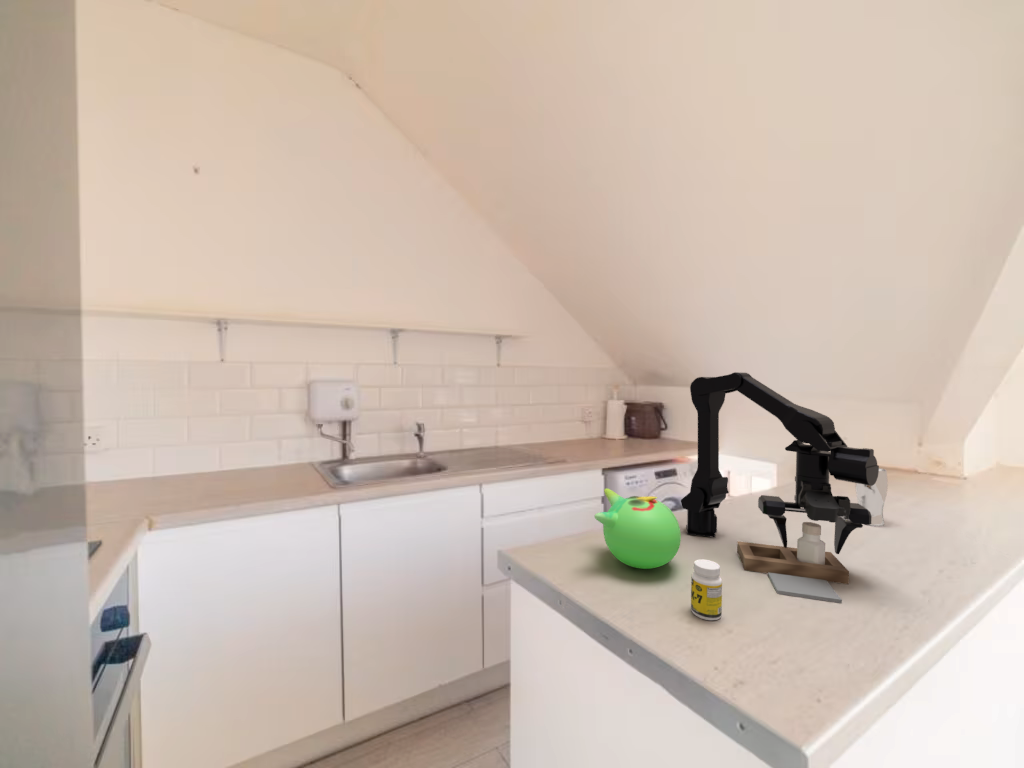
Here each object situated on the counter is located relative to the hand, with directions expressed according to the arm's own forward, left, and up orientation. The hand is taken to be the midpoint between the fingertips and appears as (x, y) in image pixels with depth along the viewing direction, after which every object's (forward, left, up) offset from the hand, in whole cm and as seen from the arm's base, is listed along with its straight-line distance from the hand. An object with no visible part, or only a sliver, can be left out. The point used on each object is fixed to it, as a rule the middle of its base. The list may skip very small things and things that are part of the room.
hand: (810, 550), depth 92 cm
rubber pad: (-4, -10, -4) cm, 12 cm away
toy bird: (-34, -9, -4) cm, 35 cm away
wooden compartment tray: (-4, 0, -4) cm, 6 cm away
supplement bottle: (-22, -26, -4) cm, 34 cm away
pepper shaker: (0, 0, -4) cm, 4 cm away
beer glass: (+25, +41, -4) cm, 48 cm away
